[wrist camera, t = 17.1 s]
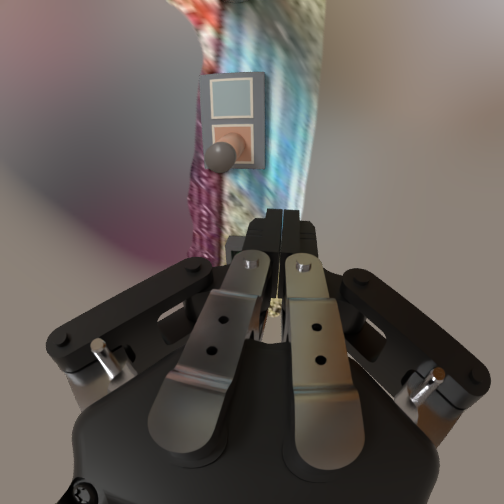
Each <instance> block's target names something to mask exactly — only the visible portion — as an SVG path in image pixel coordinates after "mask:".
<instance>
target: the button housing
mask: <svg viewBox="0 0 504 504" xmlns="http://www.w3.org/2000/svg"><path fill="white" fill-rule="evenodd" d="M244 240H245V236H229V237H228V240H227V242H226V245H225V250H226V262H227V265H228V264H231V262H232V260H233V258H234V256H235V255H236V253H237V252H239V251H242V247H243V244H244Z"/></svg>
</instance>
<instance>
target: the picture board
mask: <svg viewBox="0 0 504 504" xmlns="http://www.w3.org/2000/svg"><path fill="white" fill-rule="evenodd" d="M199 84H200V104H201V122H202V137H203V151H204V156H205V152H206V150H207V149H208V148H209V147H210V146H211V145H213V144H214V143H215V142H217V141H218V140H219V139H221V138H222V137H223V136H225V135H226V134H228V133H231V132H235V133H238V134H240V135H241V136H242V137H243V138H244V140H245V143H246V146H245V150H244V151H243V153H242V154H241V155H240V157H239V158H238V159H237V161H236V162H235V163H234V165H233V166H232V168H231V169H265V72H239V73H221V74H209V75H199ZM204 164H205V169H209V168H208V167H207V165H206V163H205V159H204Z"/></svg>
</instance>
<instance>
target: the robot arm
mask: <svg viewBox="0 0 504 504" xmlns="http://www.w3.org/2000/svg"><path fill="white" fill-rule="evenodd" d="M222 1H225V2H230V3H239V2H245V1H248V0H222ZM282 214H283V209H268V208H267V212H266V217H265V218H255V219H254V220H253V221H252V222H250V223H249V227H248V231H247V234H246V237H245V240H244V244H243V247H242V251H241V252H239V253H238V254H236V255H235V256H234V258H233V260H232V262H231V264H228V265H224V266H218V267H212V264H211V263H210V261H209V260H207V259H205V258H202V257H191V258H187V259H184V260H182V261H180V262H179V263H177V264H175V265H173V266H171V267H169V268H167V269H165V270H163V271H161V272H159V273H157V274H156V275H154V276H152V277H150V278H148V279H146V280H144V281H142V282H140V283H138V284H137V285H135V286H133V287H131V288H129V289H127V290H125V291H123V292H122V293H120V294H118V295H116V296H115V297H112V298H110V299H109V300H107V301H105V302H103V303H101V304H99V305H98V306H96V307H94V308H92V309H91V310H89V311H87V312H85V313H83V314H81V315H80V316H78V317H76V318H74V319H72V320H71V321H69V322H67V323H65V324H63V325H62V326H60V327H58V328H57V329H55V330H54V331H53V332H52V333H51V334H50V335H49V337H48V339H47V342H46V350H47V353H48V354H49V355H50V356H51V357H52V359H53V360H54V361H55V362H56V363H57V365H58V367H59V368H60V369H61V371H62V372H63V373H64V374H65V375H66V377H67V379H68V382H69V384H70V386H71V389H72V392H73V394H74V396H75V399H76V401H77V403H78V405H79V408H80V410H81V412H82V413H81V414H80V415H79V416H78V418H77V420H76V422H75V425H74V427H73V432H72V445H73V453H74V473H73V480H72V482H71V485H70V486H69V488H68V490H67V491H66V492H65V494H64V495H63V496H62V497H61V499H60V500H59V501H58V502H57V503H56V504H427V502H428V499H429V497H430V494H431V492H432V490H433V488H434V485H435V483H436V481H437V478H438V474H439V467H440V464H439V456H438V452H437V450H436V449H437V447H438V446H439V445H440V443H441V442H442V441H443V440H444V438H445V437H446V436H447V434H448V433H449V432H450V430H451V429H452V428H453V426H454V425H455V423H456V422H457V420H458V419H459V418H460V416H461V414H462V413H463V412H465V411H466V410H467V409H468V408H469V407H471V406H472V405H473V404H474V403H475V402H477V401H478V400H479V399H480V398H481V397H482V396H483V395H485V394H486V393H487V392H488V390H489V388H490V384H491V378H490V374H489V371H488V369H487V368H486V366H484V364H483V363H482V362H480V361H479V360H478V359H477V358H476V357H475V356H474V355H473V354H472V353H470V352H469V351H468V350H467V349H466V348H464V346H462V345H461V344H460V343H459V342H458V341H457V340H455V339H454V338H453V337H452V336H451V335H450V334H448V333H447V332H446V331H445V330H444V329H442V328H441V327H440V326H439V325H438V324H436V323H435V322H434V321H433V320H432V319H430V318H429V317H428V316H426V315H425V314H424V313H422V311H420V310H419V309H418V308H417V307H415V306H414V305H413V304H412V303H410V302H409V301H408V300H406V299H405V298H404V297H403V296H401V295H400V294H399V293H397V292H396V291H395V290H393V289H392V288H391V287H390V286H388V285H387V284H386V283H384V282H383V281H382V280H380V279H379V278H378V277H376V276H375V275H374V274H372V273H371V272H369V271H367V270H364V269H359V268H354V269H349V270H347V271H346V272H345V273H344V274H343V276H341V275H337V274H334V273H331V272H329V271H327V270H326V269H325V268H323V266H322V262H321V261H320V260H319V259H318V250H317V240H316V232H315V227H314V226H313V224H312V223H311V222H310V221H300V218H299V210H286V209H284V216H283V228H282ZM281 235H282V241H281ZM280 251H281V252H280ZM279 262H280V270H279ZM278 273H279V285H278V298H281V299H282V309H281V343H274V344H267V343H263V342H261V341H262V337H263V332H264V328H265V324H266V320H267V316H268V308H269V306H270V301H271V298H276V293H277V283H278ZM181 302H183V305H184V307H182V308H181V309H179V310H177V311H176V312H174V313H172V314H171V315H169V316H167V317H166V318H164V319H162V320H160V321H159V322H157V320H158V318H159V317H160V315H162V314H163V313H164V312H166V311H168V310H169V309H171V308H173V307H174V306H176V305H178V304H179V303H181ZM366 318H368V319H369V320H370V321H371V322H372V323H374V324H375V325H376V326H377V327H378V328H379V329H380V330H382V331H383V332H384V334H385V336H386V339H385V338H384V337H383V336H382V335H381V334H380V333H379V332H378V331H376V330H375V329H374V328H373V327H372V326H371V325H369V324H368V323H367V322H366ZM347 352H348V353H349V354H350V355H351V356H352V357H353V358H354V359H355V360H356V361H357V362H358V363H359V364H360V365H361V366H362V367H361V366H360V365H359V364H358V363H357V362H356V361H355V360H353V359H351V358H350V357H348V355H347ZM363 368H364V369H365V370H366V371H367V372H368V373H369V374H370V375H371V376H372V377H373V378H374V379H375V380H376V381H377V382H378V383H380V384H381V386H383V387H384V388H385V389H386V390H387V391H388V392H389V393H390V394H391V395H392V396H393V397H394V400H393V399H392V398H391V397H390V396H389V395H388V394H387V393H386V392H385V391H384V390H383V389H382V388H381V387H380V386H379V385H378V383H377V382H376V381H375V380H374V379H373V378H372V377H371V376H370V375H369V374H368V373H367V372H366V371H365V370H364V369H363Z"/></svg>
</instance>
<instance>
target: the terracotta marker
mask: <svg viewBox="0 0 504 504" xmlns="http://www.w3.org/2000/svg"><path fill="white" fill-rule="evenodd" d="M245 146H246V143H245V140H244V138H243V137H242V136H241V135H240V134H238V133H235V132H231V133H228V134H226V135H225V136H223V137H222V138H221V139H219V140H218V141H217V142H215V143H214V144H213V145H211V146H210V147H209V148H208V149H207V150H206V152H205V156H204V159H205V163H206V165H207V167H208V168H209V169H210V170H212V171H214V172H217V173H224V172H227V171H228V170H230V169H231V168H232V166H233V165H234V163H235V162H236V161H237V159H238V158H239V157H240V155H241V154H242V153H243V151H244V150H245Z"/></svg>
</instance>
